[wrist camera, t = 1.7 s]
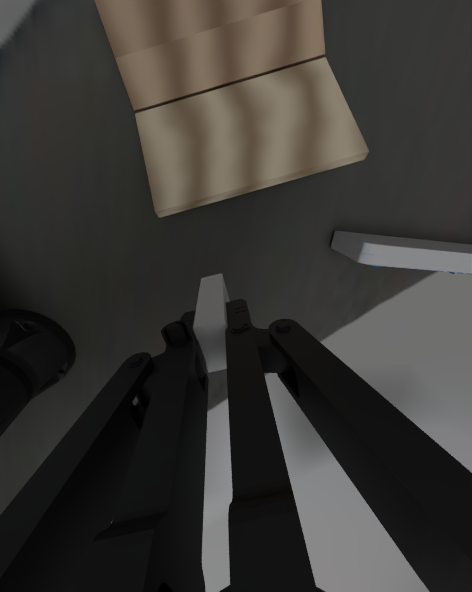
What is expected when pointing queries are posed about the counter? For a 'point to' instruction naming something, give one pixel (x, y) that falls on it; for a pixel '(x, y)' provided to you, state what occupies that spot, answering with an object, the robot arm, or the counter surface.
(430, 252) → the decorative sign
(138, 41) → the floor strip
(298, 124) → the plank
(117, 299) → the counter surface
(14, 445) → the counter surface
